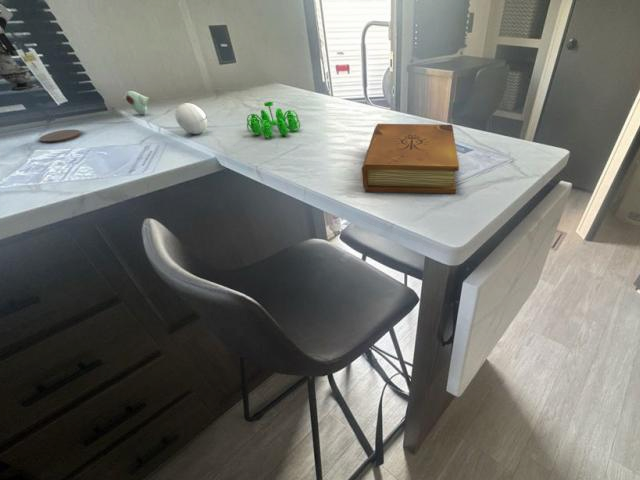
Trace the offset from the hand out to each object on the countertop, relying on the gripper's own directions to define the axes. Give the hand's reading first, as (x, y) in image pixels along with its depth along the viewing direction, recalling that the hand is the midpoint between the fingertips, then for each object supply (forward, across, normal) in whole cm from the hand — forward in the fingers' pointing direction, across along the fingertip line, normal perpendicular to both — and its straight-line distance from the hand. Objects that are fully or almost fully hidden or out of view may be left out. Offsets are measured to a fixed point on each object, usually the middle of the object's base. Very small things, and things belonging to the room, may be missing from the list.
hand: (1, 55), depth 74 cm
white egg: (+18, -30, +23) cm, 42 cm away
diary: (+18, -55, +83) cm, 101 cm away
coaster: (+18, 0, 0) cm, 18 cm away
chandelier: (+18, -45, +38) cm, 62 cm away
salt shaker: (+7, 0, 0) cm, 7 cm away
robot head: (+18, -22, -6) cm, 29 cm away
